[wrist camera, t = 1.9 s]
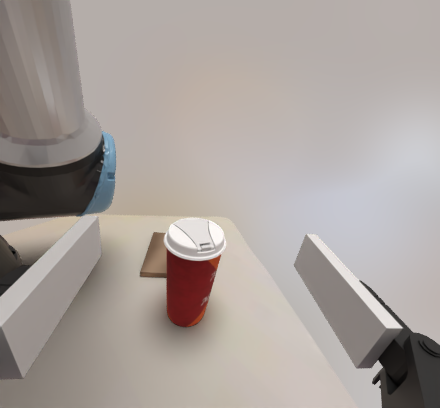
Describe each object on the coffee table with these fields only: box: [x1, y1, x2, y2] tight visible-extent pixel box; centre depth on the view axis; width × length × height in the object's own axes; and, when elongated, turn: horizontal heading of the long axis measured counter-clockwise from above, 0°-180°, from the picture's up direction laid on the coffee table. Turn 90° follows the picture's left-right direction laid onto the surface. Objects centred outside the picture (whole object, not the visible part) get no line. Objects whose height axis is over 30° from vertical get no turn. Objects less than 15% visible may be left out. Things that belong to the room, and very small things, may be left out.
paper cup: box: [164, 218, 226, 327], centre depth 28 cm, size 8×8×14 cm
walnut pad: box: [140, 232, 167, 278], centre depth 41 cm, size 12×12×1 cm
